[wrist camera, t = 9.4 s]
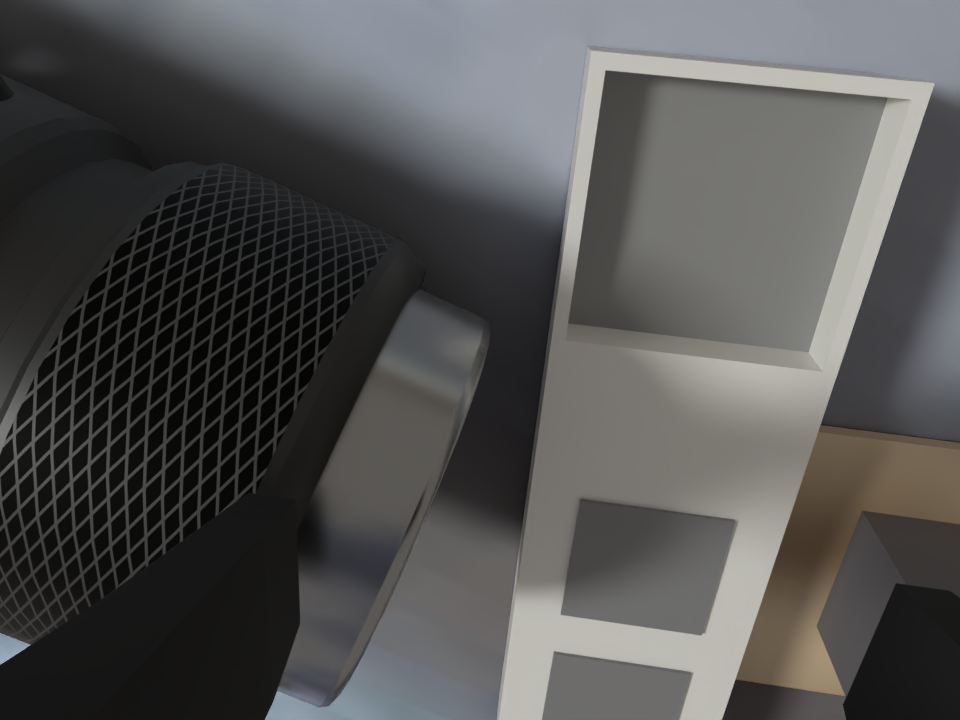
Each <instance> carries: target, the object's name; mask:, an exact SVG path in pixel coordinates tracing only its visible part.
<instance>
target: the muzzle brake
mask: <svg viewBox="0 0 960 720" xmlns="http://www.w3.org/2000/svg"><path fill="white" fill-rule="evenodd" d="M424 275H425V269H424V267H423V266H422V264H421V263H420V261H419V260H418V259H417V257H416V256H415V254H414V253H413V251H412V250H411V249H410V247H409V246H408V245H407V244H406V243H405V242H403V241H402V240H401V239H399V238H397V237H395V236H392V235H390V234H388V233H386V232H384V231H381V230H379V229H377V228H375V227H373V226H370V225H368V224H366V223H364V222H362V221H359V220H357V219H355V218H353V217H351V216H348V215H346V214H344V213H342V212H340V211H337V210H335V209H333V208H331V207H329V206H326V205H324V204H322V203H320V202H318V201H315V200H313V199H311V198H309V197H307V196H304V195H302V194H300V193H298V192H296V191H294V190H291V189H289V188H287V187H285V186H283V185H280V184H278V183H276V182H274V181H272V180H269V179H267V178H265V177H263V176H261V175H258V174H256V173H254V172H252V171H250V170H247V169H244V168H241V167H238V166H234V165H231V164H227V163H218V164H213V165H208V166H205V165H201V164H198V163H194V162H190V161H186V162H181V163H175V164H170V165H165V166H163V167H161V168H159V169H157V170H155V171H153V170H152V167H151V165H150V164H149V162H148V161H147V159H146V157H145V156H144V154H143V153H142V151H141V149H140V148H139V147H138V146H137V145H136V144H135V143H134V142H133V141H132V140H131V139H130V138H129V137H128V136H127V135H125V134H124V133H123V132H122V131H120V130H119V129H118V128H117V127H116V126H114V125H113V124H111V123H109V122H107V121H105V120H102V119H100V118H98V117H95V116H93V115H91V114H88V113H86V112H84V111H81V110H79V109H77V108H75V107H73V106H70V105H68V104H66V103H64V102H62V101H59V100H57V99H55V98H53V97H50V96H48V95H46V94H44V93H42V92H39V91H37V90H35V89H33V88H31V87H28V86H26V85H24V84H22V83H20V82H17V81H15V80H13V79H11V78H9V77H6V76H4V75H2V74H0V633H2V634H5V635H7V636H10V637H12V638H15V639H17V640H20V641H23V642H25V643H28V644H30V645H32V644H33V643H35V642H37V641H38V640H40V639H41V638H43V637H44V636H46V635H47V634H49V633H50V632H52V631H53V630H55V629H56V628H58V627H60V626H61V625H63V624H64V623H66V622H67V621H69V620H70V619H72V618H73V617H75V616H76V615H78V614H79V613H81V612H83V611H84V610H86V609H87V608H89V607H90V606H92V605H93V604H95V603H96V602H98V601H99V600H101V599H102V598H103V597H105V596H106V595H108V594H109V593H110V592H112V591H113V590H115V589H116V588H118V587H119V586H120V585H122V584H123V583H125V582H126V581H127V580H129V579H130V578H132V577H133V576H134V575H136V574H137V573H139V572H140V571H142V570H143V569H144V568H146V567H147V566H149V565H150V564H151V563H153V562H154V561H156V560H157V559H158V558H160V557H161V556H162V555H164V554H165V553H167V552H168V551H169V550H171V549H172V548H173V547H175V546H176V545H178V544H179V543H180V542H182V541H183V540H184V539H186V538H187V537H188V536H190V535H191V534H192V533H194V532H195V531H197V530H198V529H199V528H201V527H202V526H203V525H205V524H206V523H207V522H209V521H210V520H212V519H213V518H214V517H216V516H217V515H218V514H220V513H221V512H223V511H224V510H225V509H227V508H228V507H229V506H231V505H232V504H234V503H235V502H236V501H238V500H239V499H241V498H242V497H243V496H245V495H246V494H248V493H253V494H261V495H268V496H275V497H282V498H289V499H296V508H297V538H298V569H299V599H300V625H299V628H298V631H297V634H296V637H295V640H294V643H293V646H292V649H291V652H290V655H289V658H288V661H287V664H286V667H285V670H284V672H283V675H282V678H281V681H280V684H279V686H278V689H277V691H279V692H282V693H284V694H287V695H289V696H292V697H294V698H297V699H299V700H302V701H304V702H307V703H309V704H312V705H315V706H317V707H326V706H329V705H330V704H331V703H332V702H333V701H334V700H335V699H336V698H337V697H338V696H339V695H340V694H341V692H342V691H343V689H344V688H345V686H346V685H347V683H348V681H349V680H350V678H351V677H352V675H353V673H354V671H355V669H356V667H357V666H358V664H359V662H360V660H361V658H362V656H363V655H364V653H365V651H366V649H367V647H368V645H369V643H370V641H371V639H372V636H373V634H374V632H375V630H376V628H377V626H378V624H379V622H380V620H381V618H382V616H383V614H384V612H385V609H386V607H387V605H388V603H389V601H390V599H391V597H392V594H393V592H394V590H395V588H396V586H397V584H398V581H399V579H400V577H401V575H402V572H403V570H404V568H405V566H406V563H407V561H408V559H409V556H410V554H411V552H412V550H413V547H414V545H415V543H416V541H417V538H418V536H419V534H420V531H421V529H422V527H423V524H424V522H425V519H426V517H427V515H428V512H429V510H430V507H431V505H432V503H433V500H434V498H435V495H436V493H437V491H438V488H439V486H440V483H441V481H442V478H443V476H444V473H445V471H446V468H447V466H448V463H449V461H450V458H451V456H452V453H453V451H454V448H455V446H456V443H457V440H458V438H459V435H460V432H461V430H462V427H463V424H464V422H465V419H466V416H467V414H468V411H469V408H470V405H471V403H472V400H473V397H474V394H475V391H476V388H477V385H478V382H479V379H480V376H481V373H482V370H483V366H484V363H485V359H486V356H487V352H488V348H489V343H490V334H491V329H490V324H489V323H488V322H487V321H486V320H485V319H484V318H482V317H480V316H478V315H476V314H473V313H471V312H469V311H467V310H465V309H462V308H460V307H458V306H456V305H453V304H451V303H449V302H447V301H445V300H442V299H440V298H438V297H436V296H433V295H431V294H429V293H427V292H425V291H422V290H420V289H421V286H422V283H423V279H424Z"/></svg>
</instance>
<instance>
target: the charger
mask: <svg viewBox="0 0 960 720" xmlns="http://www.w3.org/2000/svg"><path fill="white" fill-rule="evenodd" d="M896 583H899V584H906V585H913V586H920V587H927V588H934V589H942V590H949V591H951V592H953V593H954V594H955V595H957V596H958V597H959V598H960V524H955V523H948V522H941V521H933V520H926V519H919V518H912V517H905V516H898V515H890V514H883V513H876V512H869V511H862V512H861V515H860V517H859V520H858V522H857V525H856V527H855V530H854V532H853V535H852V537H851V540H850V542H849V545H848V548H847V550H846V553H845V555H844V558H843V560H842V563H841V565H840V568H839V570H838V573H837V575H836V578H835V580H834V583H833V585H832V588H831V590H830V593H829V596H828V598H827V601H826V603H825V606H824V608H823V611H822V613H821V616H820V618H819V621H818V623H817V628H818V631H819V633H820V636H821V638H822V641H823V643H824V645H825V648H826V650H827V653H828V655H829V658H830V660H831V662H832V665H833V667H834V670H835V672H836V675H837V677H838V680H839V682H840V684H841V687H842V689H843V692H844V694H845V697H847V695H848V692H849V690H850V688H851V685H852V683H853V681H854V679H855V676H856V674H857V672H858V669H859V667H860V665H861V662H862V660H863V658H864V656H865V653H866V651H867V649H868V646H869V644H870V642H871V639H872V637H873V635H874V633H875V630H876V628H877V626H878V623H879V621H880V619H881V616H882V614H883V612H884V610H885V607H886V605H887V603H888V600H889V598H890V596H891V593H892V591H893V589H894V587H895V584H896Z"/></svg>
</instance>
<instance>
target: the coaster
mask: <svg viewBox="0 0 960 720" xmlns="http://www.w3.org/2000/svg"><path fill="white" fill-rule="evenodd" d="M862 511H869V512H876V513H883V514H890V515H898V516H905V517H912V518H919V519H926V520H933V521H941V522H948V523H955V524H960V443H958V442H950V441H942V440H934V439H926V438H918V437H910V436H903V435H895V434H887V433H879V432H871V431H863V430H855V429H847V428H839V427H831V426H823V425H820V428H819V431H818V434H817V437H816V440H815V443H814V446H813V449H812V452H811V455H810V458H809V461H808V464H807V467H806V470H805V473H804V476H803V479H802V482H801V485H800V488H799V491H798V494H797V497H796V500H795V503H794V506H793V509H792V512H791V515H790V518H789V521H788V524H787V527H786V530H785V533H784V536H783V539H782V542H781V545H780V548H779V551H778V554H777V557H776V560H775V563H774V566H773V569H772V572H771V575H770V578H769V581H768V584H767V587H766V590H765V593H764V596H763V599H762V602H761V605H760V608H759V611H758V614H757V617H756V620H755V623H754V625H753V628H752V631H751V634H750V637H749V640H748V643H747V646H746V649H745V652H744V655H743V658H742V661H741V664H740V667H739V670H738V673H737V676H736V680H742V681H749V682H756V683H762V684H769V685H776V686H782V687H789V688H796V689H802V690H809V691H816V692H822V693H829V694H835V695H842V696H845V694H844V692H843V689H842V687H841V684H840V682H839V680H838V677H837V675H836V672H835V670H834V667H833V665H832V662H831V660H830V658H829V655H828V653H827V650H826V648H825V645H824V643H823V641H822V638H821V636H820V633H819V631H818V628H817V623H818V621H819V618H820V616H821V613H822V611H823V608H824V606H825V603H826V601H827V598H828V596H829V593H830V590H831V588H832V585H833V583H834V580H835V578H836V575H837V573H838V570H839V568H840V565H841V563H842V560H843V558H844V555H845V553H846V550H847V548H848V545H849V542H850V540H851V537H852V535H853V532H854V530H855V527H856V525H857V522H858V520H859V517H860V515H861V512H862Z"/></svg>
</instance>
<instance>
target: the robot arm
mask: <svg viewBox="0 0 960 720" xmlns="http://www.w3.org/2000/svg"><path fill="white" fill-rule="evenodd" d="M299 625H300V599H299V569H298V538H297V508H296V499H289V498H282V497H275V496H268V495H261V494H253V493H248V494H246V495H245V496H243V497H242V498H241V499H239V500H238V501H236V502H235V503H234V504H232V505H231V506H229V507H228V508H227V509H225V510H224V511H223V512H221V513H220V514H218V515H217V516H216V517H214V518H213V519H212V520H210V521H209V522H207V523H206V524H205V525H203V526H202V527H201V528H199V529H198V530H197V531H195V532H194V533H192V534H191V535H190V536H188V537H187V538H186V539H184V540H183V541H182V542H180V543H179V544H178V545H176V546H175V547H173V548H172V549H171V550H169V551H168V552H167V553H165V554H164V555H162V556H161V557H160V558H158V559H157V560H156V561H154V562H153V563H151V564H150V565H149V566H147V567H146V568H144V569H143V570H142V571H140V572H139V573H137V574H136V575H134V576H133V577H132V578H130V579H129V580H127V581H126V582H125V583H123V584H122V585H120V586H119V587H118V588H116V589H115V590H113V591H112V592H110V593H109V594H108V595H106V596H105V597H103V598H102V599H101V600H99V601H98V602H96V603H95V604H93V605H92V606H90V607H89V608H87V609H86V610H84V611H83V612H81V613H79V614H78V615H76V616H75V617H73V618H72V619H70V620H69V621H67V622H66V623H64V624H63V625H61V626H60V627H58V628H56V629H55V630H53V631H52V632H50V633H49V634H47V635H46V636H44V637H43V638H41V639H40V640H38V641H37V642H35V643H33V644H32V645H30V646H29V647H27V648H26V649H24V650H23V651H21V652H20V653H18V654H17V655H15V656H14V657H12V658H10V659H9V660H7V661H6V662H4V663H3V664H1V665H0V720H265V718H266V716H267V713H268V711H269V709H270V707H271V705H272V703H273V700H274V697H275V695H276V692H277V689H278V686H279V684H280V681H281V678H282V675H283V672H284V670H285V667H286V664H287V661H288V658H289V655H290V652H291V649H292V646H293V643H294V640H295V637H296V634H297V631H298V628H299ZM843 707H844V711H845V715H846V720H960V598H959V597H958V596H957V595H955V594H954V593H953V592H951V591H949V590H942V589H934V588H927V587H920V586H913V585H906V584H899V583H896V584H895V587H894V589H893V591H892V593H891V596H890V598H889V600H888V603H887V605H886V607H885V610H884V612H883V614H882V616H881V619H880V621H879V623H878V626H877V628H876V630H875V633H874V635H873V637H872V639H871V642H870V644H869V646H868V649H867V651H866V653H865V656H864V658H863V660H862V662H861V665H860V667H859V669H858V672H857V674H856V676H855V679H854V681H853V683H852V685H851V688H850V690H849V692H848V695H847V697H846V699H845V702H844V704H843Z"/></svg>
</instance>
